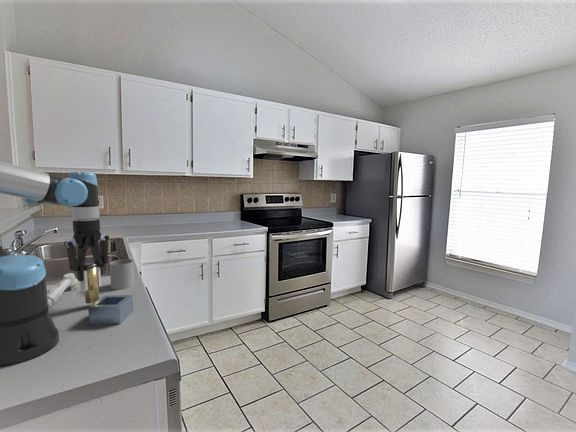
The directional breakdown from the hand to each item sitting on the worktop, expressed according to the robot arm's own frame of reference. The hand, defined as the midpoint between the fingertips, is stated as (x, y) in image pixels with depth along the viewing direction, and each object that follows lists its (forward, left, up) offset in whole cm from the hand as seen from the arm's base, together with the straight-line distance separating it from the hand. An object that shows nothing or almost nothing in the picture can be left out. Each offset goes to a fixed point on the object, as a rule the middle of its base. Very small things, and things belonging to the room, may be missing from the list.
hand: (91, 287), depth 103 cm
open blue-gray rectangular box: (-9, -11, -7) cm, 16 cm away
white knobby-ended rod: (+8, +16, -7) cm, 19 cm away
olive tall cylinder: (0, 0, -5) cm, 5 cm away
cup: (+20, -1, -7) cm, 21 cm away
